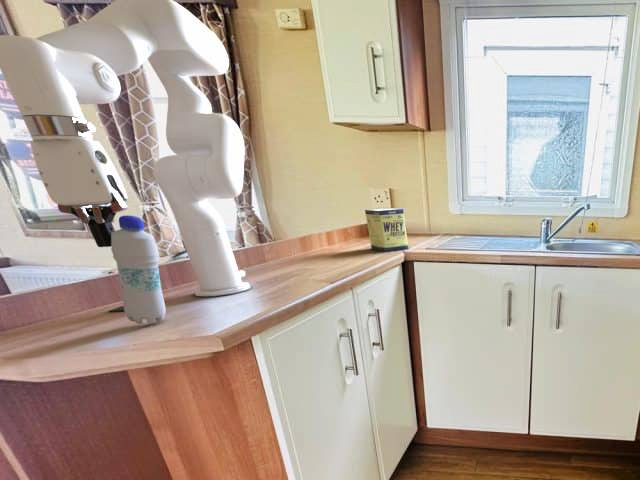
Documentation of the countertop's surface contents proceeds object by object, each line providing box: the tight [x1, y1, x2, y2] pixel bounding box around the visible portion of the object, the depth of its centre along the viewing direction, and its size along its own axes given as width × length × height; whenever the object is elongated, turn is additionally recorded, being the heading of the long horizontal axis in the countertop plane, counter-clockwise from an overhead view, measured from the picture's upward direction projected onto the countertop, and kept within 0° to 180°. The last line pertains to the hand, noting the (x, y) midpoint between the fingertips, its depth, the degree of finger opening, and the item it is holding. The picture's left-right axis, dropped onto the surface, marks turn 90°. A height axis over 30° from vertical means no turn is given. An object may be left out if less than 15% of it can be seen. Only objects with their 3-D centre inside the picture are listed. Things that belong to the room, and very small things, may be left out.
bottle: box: [110, 214, 167, 325], centre depth 80 cm, size 7×7×20 cm
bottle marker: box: [108, 305, 125, 313], centre depth 97 cm, size 5×5×1 cm
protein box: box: [364, 208, 409, 252], centre depth 175 cm, size 10×16×16 cm
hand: (109, 245), depth 78 cm, fingers closed
